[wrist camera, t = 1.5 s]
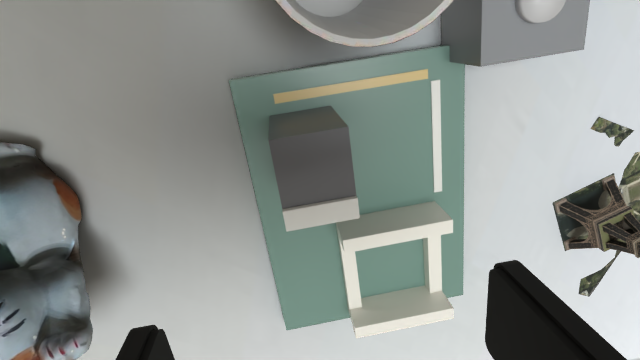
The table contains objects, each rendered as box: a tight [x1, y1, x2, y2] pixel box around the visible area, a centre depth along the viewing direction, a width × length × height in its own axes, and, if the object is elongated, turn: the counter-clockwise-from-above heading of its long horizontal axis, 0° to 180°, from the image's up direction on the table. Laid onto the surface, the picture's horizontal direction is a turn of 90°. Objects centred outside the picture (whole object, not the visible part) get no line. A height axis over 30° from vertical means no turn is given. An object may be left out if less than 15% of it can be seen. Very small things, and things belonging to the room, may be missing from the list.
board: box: [229, 45, 465, 338], centre depth 26 cm, size 20×15×4 cm
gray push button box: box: [441, 0, 590, 66], centre depth 21 cm, size 6×6×6 cm
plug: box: [268, 106, 360, 232], centre depth 22 cm, size 5×4×6 cm
